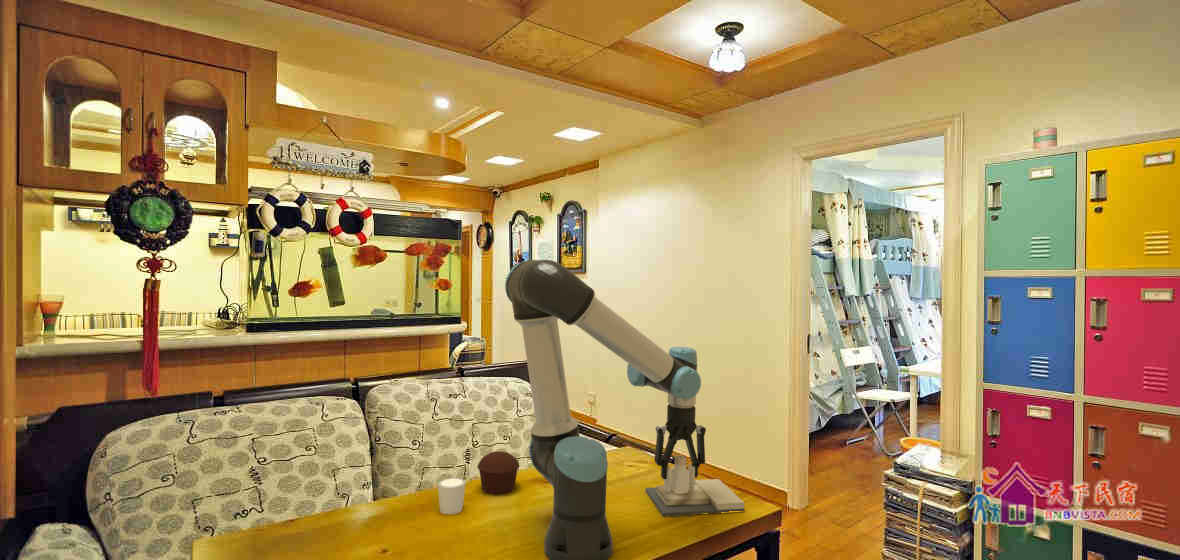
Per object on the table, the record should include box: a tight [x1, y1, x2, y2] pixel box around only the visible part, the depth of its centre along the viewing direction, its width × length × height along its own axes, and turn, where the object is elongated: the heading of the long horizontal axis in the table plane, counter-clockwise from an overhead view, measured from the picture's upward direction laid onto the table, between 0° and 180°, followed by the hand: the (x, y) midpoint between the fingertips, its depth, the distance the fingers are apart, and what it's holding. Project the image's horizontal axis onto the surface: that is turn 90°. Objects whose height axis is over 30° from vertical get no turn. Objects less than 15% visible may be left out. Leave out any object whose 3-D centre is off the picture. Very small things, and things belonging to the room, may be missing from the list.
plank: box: [655, 485, 710, 505], centre depth 146 cm, size 12×9×2 cm
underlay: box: [644, 478, 745, 518], centre depth 147 cm, size 22×16×3 cm
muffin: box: [477, 451, 520, 496], centre depth 152 cm, size 12×11×10 cm
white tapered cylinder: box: [437, 477, 466, 515], centre depth 138 cm, size 7×7×7 cm
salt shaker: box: [670, 454, 689, 494], centre depth 146 cm, size 4×4×10 cm
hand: (678, 489), depth 146 cm, fingers open, 6 cm apart
